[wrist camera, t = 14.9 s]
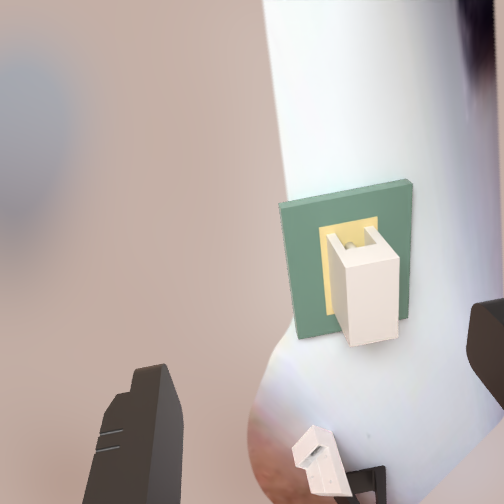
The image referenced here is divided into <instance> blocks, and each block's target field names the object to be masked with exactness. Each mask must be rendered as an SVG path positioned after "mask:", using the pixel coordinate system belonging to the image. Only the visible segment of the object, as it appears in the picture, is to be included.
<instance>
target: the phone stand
mask: <svg viewBox="0 0 504 504" xmlns="http://www.w3.org/2000/svg"><path fill="white" fill-rule="evenodd" d="M345 474H346V477H347V480H348V483H349V486H350V490H351V493H352V496H353V497H351V496H334V499H335V501H336V502H337V503H338V504H360V503H359V501H358V500H357V498H356V496H355V495H354V494H358V493H363V492H368V491H374V492H375V496H376V504H387V501H386V470H385V466H378V467H373V468H368V469H363V470H359V471H352V472H347V473H345Z"/></svg>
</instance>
